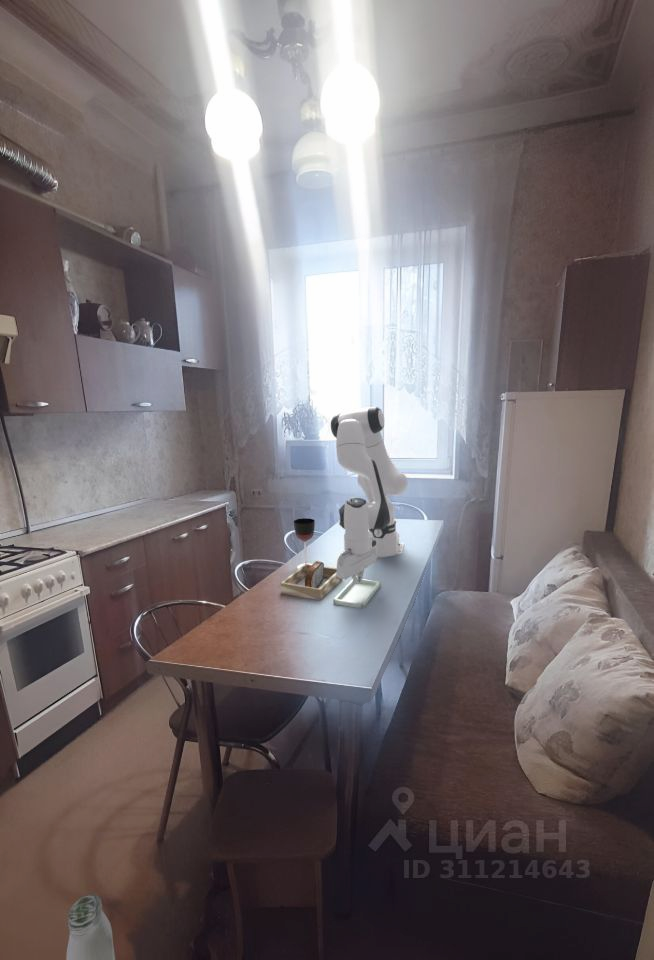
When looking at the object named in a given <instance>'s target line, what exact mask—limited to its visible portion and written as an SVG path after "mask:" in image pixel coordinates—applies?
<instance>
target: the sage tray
mask: <svg viewBox="0 0 654 960" xmlns="http://www.w3.org/2000/svg"><path fill="white" fill-rule="evenodd" d="M381 585H382V584H381V581H376V580H372V579H364V578H362V581H361V582H359V583H358V584H354V583H353V579H351V580H349V582H348V583H347V584H346V585H345V587H343V589H341V591H340V592H339V593H338V594H337V595H336V596H335V597H334V598H333V600H332V603H333V604H332V605H337V606H345V607H352V608H357V609H363V608H364V607H365V606H366V605H367V604H368V602H369V601H370V600H371V598H372V597H373V596H374V595H375V593H376V592H377V591H378V590H379V589H380V588H381Z"/></svg>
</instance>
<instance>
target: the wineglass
mask: <svg viewBox="0 0 654 960" xmlns="http://www.w3.org/2000/svg"><path fill="white" fill-rule="evenodd" d="M315 525H316V521H315V519H313V518H304V517H303V518H297V519H294V521H293V526H294V533H295V537H296V538H297V539H299V540H300V541H302V542H303V546H304V547H303V548H304V549H303V550H304V551H303V552H304V563H301V564H299V565H297V567H296V568H297V570H298V569H299V568H301V567H302V566H303V565H305V564H308V563H307V562H308V560H307V557H308V556H307V541H310V540H311V539H312V538H313V537H314V534H315V527H316V526H315ZM310 564H311V565H313V564H314V563H310Z"/></svg>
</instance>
